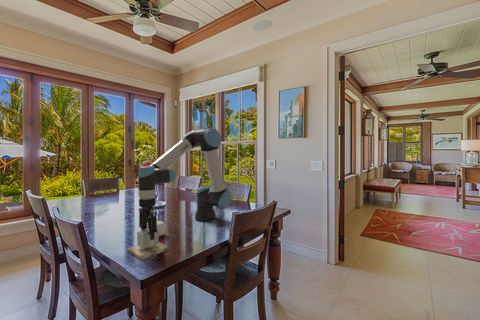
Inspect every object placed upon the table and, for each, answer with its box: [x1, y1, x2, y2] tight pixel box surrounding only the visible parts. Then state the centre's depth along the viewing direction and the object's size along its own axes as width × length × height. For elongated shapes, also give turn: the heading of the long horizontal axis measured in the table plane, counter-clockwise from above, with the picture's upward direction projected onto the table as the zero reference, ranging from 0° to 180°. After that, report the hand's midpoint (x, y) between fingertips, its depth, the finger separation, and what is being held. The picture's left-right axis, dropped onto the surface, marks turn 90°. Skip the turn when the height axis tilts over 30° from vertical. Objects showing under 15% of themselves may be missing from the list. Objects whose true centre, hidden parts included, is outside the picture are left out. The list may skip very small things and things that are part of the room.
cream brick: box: [146, 220, 166, 237], centre depth 135 cm, size 8×6×7 cm
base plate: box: [126, 241, 169, 261], centre depth 115 cm, size 14×14×2 cm
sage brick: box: [136, 228, 160, 249], centre depth 115 cm, size 8×6×7 cm
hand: (148, 243), depth 115 cm, fingers closed on sage brick, 6 cm apart
